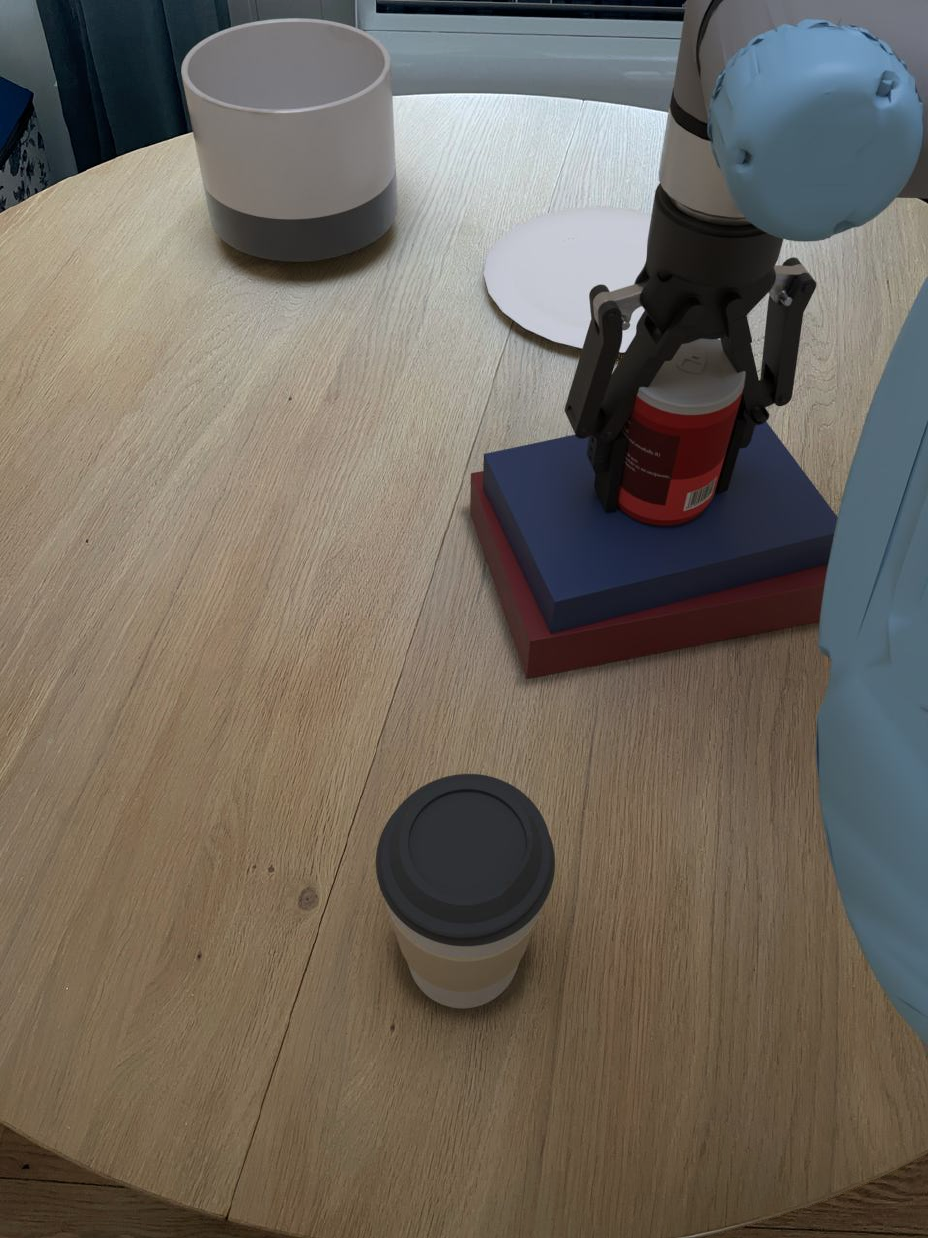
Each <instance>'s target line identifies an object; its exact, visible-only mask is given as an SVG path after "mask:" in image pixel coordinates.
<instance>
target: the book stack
mask: <svg viewBox="0 0 928 1238" xmlns="http://www.w3.org/2000/svg"><path fill="white" fill-rule="evenodd" d="M588 441H589V437H587V438H584V439H580V438H578V437H576V435H575V434H571V435H566V436H561V437H556V438H551V439H547V440H543V441H537V442H533V443H529V444H524V445H519V446H515V447H514V446H513V447H509V448H506V449H501V450H496V451H491V452H485V453H483V464H482V465H483V467H482V468H483V469H482V470H481V471H476V472H471V473H470V494H469V495H470V496H469V497H470V499H469V502H470V503H469V514H470V516H471V519H472V523H473V525H474V528H475V531H476V534H477V537H478V540H479V542H480V547H481V550H482V552H483V555H484V558H485V560H486V563H487V567H488V570H489V573H490V575H491V579H492V581H493V585H494V588H495V590H496V593H497V596H498V599H499V602H500V605H501V608H502V610H503V611H502V612H503V613H504V616H505V619H506V623H507V625H508V628H509V631H510V635H511V637H512V640H513V643H514V646H515V649H516V652H517V654H518V657H519V661H520V663H521V667H522V670H523V672H524V675H525V678H526V680H528V679H533V678H537V677H543V676H548V675H552V674H559V673H563V672H568V671H574V670H579V669H582V668H589V667H594V666H599V665H604V664H609V663H614V662H618V661H619V662H620V661H624V660H629V659H634V658H640V657H644V656H651V655H655V654H660V653H665V652H670V651H674V650H681V649H685V648H691V647H695V646H700V645H705V644H710V643H715V642H721V641H726V640H731V639H736V638H741V637H745V636H747V637H748V636H751V635H757V634H762V633H767V632H772V631H777V630H782V629H786V628H792V627H798V626H802V625H808V624H812V623H818V622H820V614H821V606H822V598H823V592H824V585H825V579H826V572H827V567H828V563H829V558H830V553H831V548H832V543H833V538H834V533H835V528H836V523H837V518H838V515H837V514H836V513H835V511H834V510H833V509H832V507H831V505H830V504H829V503H828V502H827V501H826V499H825V498H824V497H823V495H822V494H821V493H820V491H819V490H818V489H817V487H816V486H815V485H814V483H813V482H812V480H811V478H809V476H808V475H807V473H805V471H804V469H803V468H802V467H801V466H800V464H799V463H798V462H797V460H796V459H795V458H794V456H793V455H792V453H790V451H789V450H788V448H787V447H786V445H785V444H784V443H783V441H782V440H781V439H780V438H779V436H778V435H777V434H776V433H775V430H773V428H772V426H771V425H770V424H769V423H768V421H766V422H765V423H763V424H761V425H755V429H754V432H753V435H752V439H751V442H750V443H749V445H748V446H747V447H746V448H741V449H739V452H738V456H737V459H736V463H735V466H734V470H733V473H732V477H731V480H730V484H729V487H728V491H724V492H717V490H715V493H714V495H713V498H712V500H711V501H710V502H709V504H708V505H707V506H706V508H705V509H704V510H703V512H702V513H700V514H699V515H698V516H697V517H696V518H694V519H692V520H690V521H688V522H685V523H682V524H678V525H671V526H658V525H651V524H647V523H644V522H640V521H638V520H636V519H634V518H632V517H630V516H629V515H627V514H626V513H624V512H623V511H622V510H621V509H620V508H619V507H618V506H617V505H616V510H614V511H609V512H605V510H604V507H603V505H602V503H601V501H600V499H599V496H598V494H597V492H596V490H595V488H594V481H595V474H596V473H595V472H594V470H593V468H592V466H591V463H590V461H589V459H588V457H587V449H588Z"/></svg>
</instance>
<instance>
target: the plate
mask: <svg viewBox="0 0 928 1238" xmlns="http://www.w3.org/2000/svg"><path fill="white" fill-rule="evenodd" d="M651 215H652V212H647V211H642V210H637V209H633V208H627V207H613V206H601V205H595V206H594V205H593V206H582V207H581V206H580V207H568V208H563V209H559V210H555V211H550V212H546V213H542V214H539V215H536V216H534V217H532V218H530V219H528V220H525V221H523V222H521V223H518V224H516V225H515V226H514V227H512V228H511V229H510V230H508V231H507V232H505V233H504V234H502V235H501V236H500V237H498V239H497V240H496V242H495V243H494V244H493V246H492V247H491V249H490V250H489V252H488V253H487V254H486V259H485V263H484V269H483V278H484V282H485V285H486V290H487V294H488V296H489V297H490V299H491V300H492V301H493V303H494V304H495V305H496V307H497V308H498V309H499V311H500V312H501V314H503V315H504V316H505V317H507V318H508V319H509V320H511V321H512V322H513V323H515V324H516V325H517V326H519V327H520V328H521V329H523V330H524V331H526V332H528V333H530V334H533V335H535V336H537V337H539V338H542V339H544V340H546V341H548V342H551V343H553V344H556V345H559V346H564V347H568V348H573V349H577V350H580V351H582V348H583V345H584V342H585V338H586V335H587V331H588V328H589V325H590V321H591V311H590V300H589V293H590V291H591V289H592V288H593V287H595V286H597V285H601V284H602V285H605V286H606V287H607V288H608V289H609V291H610V292H611V291H614V290H618V289H621V288H624V287H627V286H631V285H634V283H635V280H636V278H637V276H638V275H639V274H640V272H641V271H642V269H643V267H644V265H645V263H646V257H647V240H648V234H649V228H650V222H651ZM580 236H582V237H580ZM576 237H578V238H576ZM569 238H574V239H569ZM568 239H569V240H568ZM564 240H565V241H564ZM562 241H563V242H562ZM644 311H645V310H644V308H643V307H642V306H641V307H639V308H637V309H636V310H635V311H634V312H633V313H632V316H631V320H630V322H629V323H630V327H629V328H628V329H627V330H623V337H622V343H621V347H620V351H619V354H618V355H624V353H625V352H626V350H627V348H628V347H629V345H630V343H631V342H632V340H633V338H634V337H635V335H636V326H637V323H638V321H639V319H640V317H641V316H642V314H643V312H644Z"/></svg>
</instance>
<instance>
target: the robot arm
mask: <svg viewBox="0 0 928 1238" xmlns="http://www.w3.org/2000/svg"><path fill="white" fill-rule="evenodd" d="M682 22H683V23H682V29H681V34H680V35H681V36H680V42H679V47H678V48H679V49H678V55H677V61H676V62H677V63H676V67H675V75H674V81H673V87H672V92H671V98H670V103H669V105H668V112H667V118H666V125H665V130H664V135H663V136H664V137H663V142H662V150H661V155H660V162H659V166H658V167H659V168H658V181H659V184H658V185H657V187H656V190H655V192H654V198H653V203H652V208H651V209H652V210H651V213H652V215H651V222H650V228H649V234H648V240H647V257H646V263H645V265H644V267H643V269H642V271H641V272H640V274H639V275H638V276H637V278H636V280H635V283H634V285H631V286H627V287H624V288H621V289H618V290H614V291H611V292H610V291H609V289H608V288H607V287H606V286H605V285H602V284H601V285H597V286H595V287H593V288H592V289H591V291H590V293H589V300H590V311H591V321H590V325H589V328H588V331H587V335H586V338H585V342H584V345H583V348H582V350H581V352H580V356H579V360H578V361H577V364H576V368H575V372H574V375H573V376H574V377H573V379H572V381H571V386H570V389H569V392H568V396H567V399H566V402H565V404H564V405H565V406H564V413H565V415H566V417H567V420H568V422H569V424H570V426H571V428H572V431H573V432H574V435H576V437H578V438H580V439H584V438H587V437H589V441H588V449H587V457H588V459H589V461H590V463H591V466H592V468H593V470H594V472H595V473H596V474H595V481H594V488H595V490H596V492H597V494H598V496H599V499H600V501H601V503H602V505H603V507H604V510H605V512H609V511H614V510H616V505H617V500H618V494H619V488H620V482H621V477H622V471H623V465H624V459H625V454H626V448H627V442H628V441H627V439H626V437H625V435H624V433H623V431H622V430H621V429H622V428H623V426H624V425H625V423H626V421H627V420H628V418H629V417H630V415H631V414H632V412H633V410H634V407H635V402H636V397H637V394H638V391H639V388H640V387H647V388H648V387H649V385H650V384H651V382H652V381H653V379H654V378H655V376H656V374H657V373H658V371H659V370H660V368H661V367H662V365H663V363H664V362H665V361H671V360H672V359H673V357H674V356H675V354H676V353H677V351H678V349H679V348H680V346H681V345H682V344H686V343H690V342H693V341H696V340H698V339H712V340H713V339H719V340H721V343H722V347H723V351H724V353H725V354H726V356H727V358H728V359H729V361H730V363H731V364H732V366H733V367H734V369H735V370H736V372H737V373H740V372H742V371H745V372H746V374H745V382H744V389H743V392H742V396H741V401H740V404H739V408H738V411H737V415H736V419H735V422H734V426H733V429H732V433H731V436H730V440H729V443H728V447H727V451H726V454H725V458H724V461H723V465H722V468H721V472H720V475H719V479H718V482H717V486H716V490H717V492H724V491H728V487H729V484H730V480H731V477H732V473H733V470H734V466H735V463H736V459H737V456H738V452H739V449H741V448H746V447H747V446H748V445H749V443H750V442H751V439H752V435H753V432H754V429H755V425H761V424H763V423H765V422H768V420H769V418H770V413H769V412H768V409H767V407H769V406H772V405H775V406H777V407H783V406H786V405H788V404H789V403H790V402H791V400H792V398H793V392H794V385H795V379H796V371H797V364H798V356H799V350H800V342H801V334H802V328H803V327H802V326H803V319H804V313H805V310H806V309H807V307H808V305H809V303H810V301H811V299H812V297H813V295H814V293H815V291H816V288H817V281H816V280H815V279H814V278H813V277H812V275H811V274H810V272H809V271H808V270H807V268H806V267H805V266H804V265H803V264H802V262H801V261H800V260H799V259H798V258H797V257H794V256H793V257H790V258H787V259H786V260H785V261H783V263H782V264H781V265H777V262H778V260H779V257H780V254H781V251H782V246H783V243H784V240H786V241H792V242H800V243H801V242H803V243H804V242H809V243H810V242H820V241H825V240H828V239H831V237H833V236H835V235H838V234H841V233H845V232H846V231H849V230H851V229H853V228H859V227H861V226H864V225H865V224H868V223H869V222H871V221H872V220H874V219H876V217H878V216H879V215H880V214H881V213H883V211H885V210H886V209H888V208H889V206H891V204H892V203H893V202H894V201H895V200H896V199H926V200H927V199H928V0H686V1H685V8H684V15H683V21H682ZM768 294H769V295H768ZM766 295H768V301H767V309H766V319H765V320H766V321H765V330H764V338H763V349H762V358H761V367H760V377H759V374H758V370H757V369H758V368H757V365H756V361H755V356H754V352H753V348H752V343H753V338H752V333H751V328H750V324H749V319H748V315H749V314H750V312H751V311H752V310H753V309H754V308H755V307H756V306H757V305H758V304H759V303H760V302H761V301H762V300H763V298H765V297H766ZM641 306H642V307H643V308H644V310H645V311H644V312H643V314H642V316H641V317H640V319H639V321H638V323H637V326H636V335H635V337H634V338H633V340H632V342H631V343H630V345H629V347H628V348H627V350H626V352H625V353H624V354H622V357H621V358H620V360H619V362H618V363H616V362H617V359H618V356H619V355H620V354H619V351H620V347H621V343H622V337H623V330H627V329H628V328H629V327H630V323H629V322H630V320H631V316H632V313H633V312H634V311H635V310H636V309H637V308H639V307H641ZM892 346H893V347H892V349H891V352H890V354H889V357H888V359H887V361H886V363H885V366H884V368H883V371H882V374H881V377H880V378H879V381H878V384H877V386H876V389H875V391H874V394H873V397H872V400H871V403H870V405H869V408H868V411H867V413H866V416H865V419H864V423H863V425H862V429H861V433H860V436H859V439H858V441H857V446H856V448H855V451H854V455H853V459H852V461H851V464H850V467H849V470H848V475H847V478H846V481H845V486H844V489H843V493H842V497H841V501H840V504H839V505H840V506H839V510H838V515H837V517H838V518H837V523H836V528H835V533H834V538H833V543H832V548H831V553H830V558H829V563H828V567H827V572H826V579H825V585H824V592H823V598H822V606H821V614H820V621H819V625H818V635H817V644H816V645H817V648H818V650H819V652H820V654H822V655H823V656H824V657H826V658H828V659H829V660H830V668H829V669H830V671H829V677H828V684H827V689H826V692H825V695H824V699H823V701H822V703H821V705H820V707H819V709H818V711H817V713H816V724H815V725H816V727H815V747H814V757H815V766H816V774H817V783H818V797H819V798H818V799H819V805H820V813H821V819H822V825H823V832H824V837H825V841H826V842H825V843H826V847H827V853H828V857H829V861H830V863H831V867H832V871H833V874H834V878H835V881H836V885H837V888H838V891H839V895H840V898H841V901H842V905H843V908H844V911H845V915H846V918H847V920H848V923H849V925H850V927H851V930H852V932H853V934H854V936H855V939H856V941H857V944H858V946H859V948H860V950H861V953H862V954H863V956H864V958H865V960H866V962H867V964H868V966H869V967H870V970H871V972H872V973H873V976H874V977H875V979H876V982H877V983H878V984H879V985H880V987H881V989H882V990H883V992H884V993H885V995H886V997H887V998H888V999H889V1001H890V1003H891V1004H892V1005H893V1007H894V1008H895V1010H896V1011H897V1013H898V1014H899V1015H900V1016H901V1017H902V1019H903V1020H904V1021H905V1022H906V1023H907V1025H908V1026H909V1027H910V1029H912V1030H913V1032H914V1033H915V1034H916V1035H917V1036H918V1038H919V1039H920V1041H921V1044H922V1047H923V1049H924V1053H925V1056H926V1058H927V1059H928V275H927V276H926V278H925V280H924V281H923V282H922V284H921V286H920V289H919V291H918V293H917V295H916V297H915V299H914V301H913V303H912V305H911V307H910V308H909V311H908V314H907V316H906V317H905V319H904V322H903V324H902V327H901V328H900V331H899V333H898V335H897V337H896V340H895V342H894V344H893V345H892ZM759 378H760V379H759Z"/></svg>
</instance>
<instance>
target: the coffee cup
mask: <svg viewBox="0 0 928 1238" xmlns="http://www.w3.org/2000/svg"><path fill="white" fill-rule="evenodd" d="M555 872H556V855H555V849H554V844H553V841H552V837H551V835H550V831H549V828H548V825H547V822H546V820H545V819H544V817H543V815H542V813H541V812H540V810H539V808H538V806H536V804H535V803H534V801H532V800H531V799H530V798H529V797H528V795H526V794H525V793H524V792H523V791H521V790H520V789H519V788H517V787H516V786H515V785H512V784H511V783H509V782H506V781H505V780H502V779H500V778H497V777H493V776H490V775H485V774H479V773H460V774H459V773H458V774H452V775H447V776H444V777H441V778H438V779H435V780H432V781H430V782H428V783H426V784H425V785H423V786H421V787H420V788H418V789H417V790H415V791H413V792H412V793H411V794H410V795H409V796H407V797H406V798H405V799H404V800H403V801H402V802H401V803H400V805H398V807H397V808H396V809H395V811H394V812H393V813H392V814H391V816H390V817H389V818H388V820H387V822H386V823H385V825H384V827H383V829H382V831H381V833H380V837H379V840H378V843H377V847H376V853H375V873H376V879H377V883H378V886H379V890H380V892H381V894H382V897H383V899H384V903H385V906H386V910H387V912H388V916H389V919H390V921H391V924H392V928H393V931H394V934H395V937H396V941H397V943H398V945H399V949H400V951H401V954H402V956H403V957H404V959H405V961H406V963H407V965H408V968H409V969H408V970H409V972H410V975H411V977H412V979H413V981H414V982H415V984H416V985H417V987H418V989H420V991H421V992H422V993H424V995H425V996H426V997H428V998H429V999H431V1000H432V1001H434V1002H435V1003H437V1004H439V1005H441V1006H445V1007H448V1008H453V1009H460V1010H461V1009H472V1008H478V1007H480V1006H483V1005H486V1004H488V1003H490V1002H492V1001H493V1000H495V999H497V998H498V996H500V995H502V993H504V992H505V990H506V989H507V988H508V987H509V986H510V984H511V983H512V981H513V979H514V977H515V975H516V973H517V970H518V967H519V964H520V962H521V960H522V958H523V957H524V955H525V953H526V951H527V949H528V946H529V944H530V941H531V938H532V936H533V933H534V931H535V928H536V926H537V924H538V921H539V920H540V916H541V915H542V911H543V909H544V905H545V903H546V901H547V900H548V897H549V895H550V893H551V890H552V887H553V883H554V878H555Z"/></svg>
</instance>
